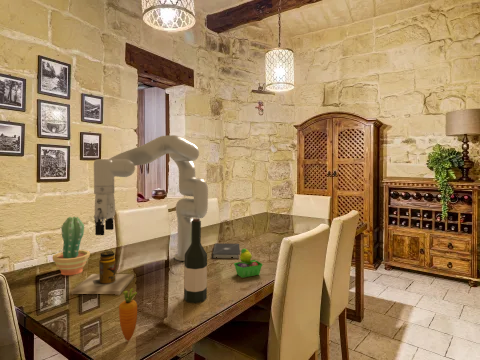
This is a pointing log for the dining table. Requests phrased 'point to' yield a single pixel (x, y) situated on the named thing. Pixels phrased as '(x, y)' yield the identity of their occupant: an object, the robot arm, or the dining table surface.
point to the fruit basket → (247, 265)
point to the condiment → (106, 269)
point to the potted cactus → (71, 248)
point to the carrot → (128, 315)
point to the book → (226, 250)
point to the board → (115, 288)
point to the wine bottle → (195, 267)
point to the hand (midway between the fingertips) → (104, 232)
